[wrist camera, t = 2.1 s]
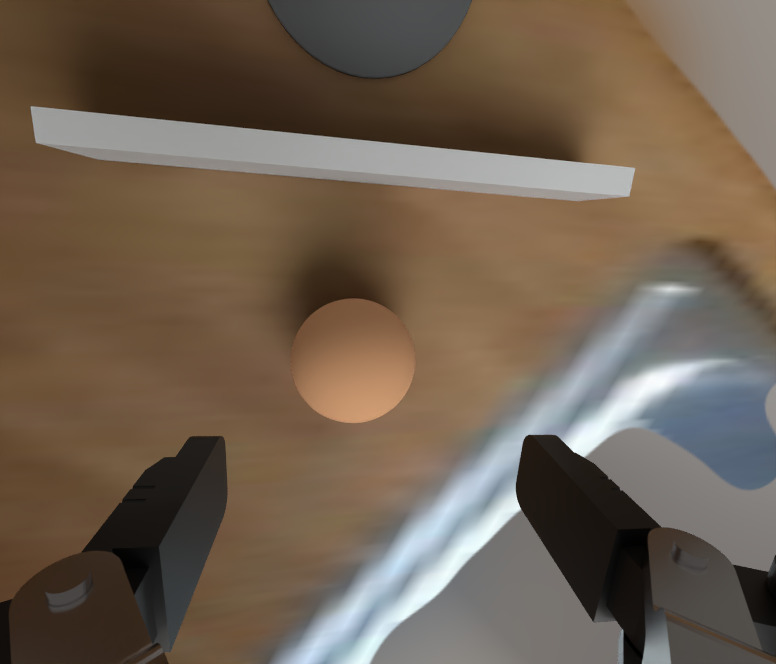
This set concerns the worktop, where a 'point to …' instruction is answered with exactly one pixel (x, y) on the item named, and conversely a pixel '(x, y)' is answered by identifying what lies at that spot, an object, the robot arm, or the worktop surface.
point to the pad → (371, 32)
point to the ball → (352, 360)
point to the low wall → (322, 157)
